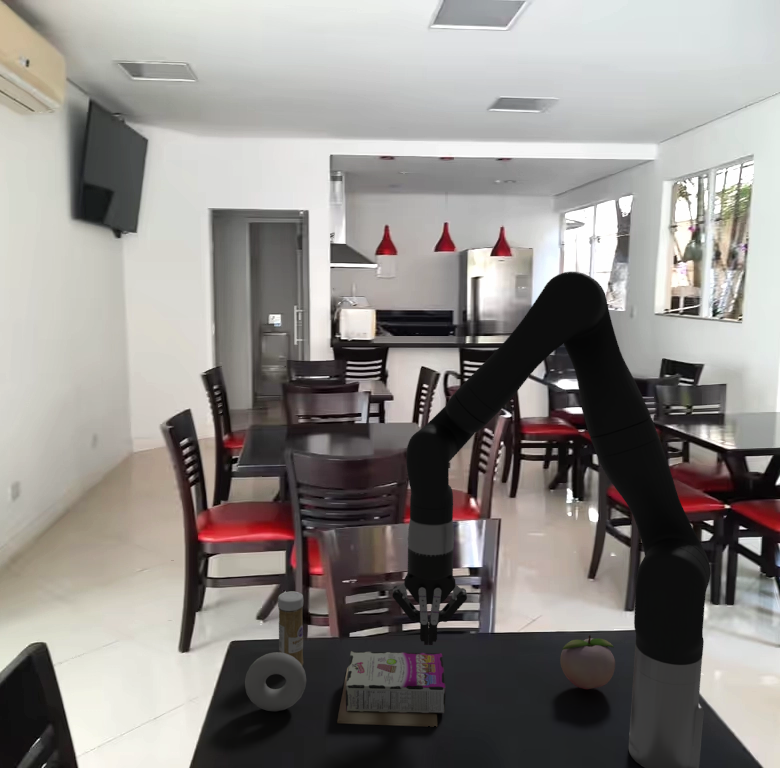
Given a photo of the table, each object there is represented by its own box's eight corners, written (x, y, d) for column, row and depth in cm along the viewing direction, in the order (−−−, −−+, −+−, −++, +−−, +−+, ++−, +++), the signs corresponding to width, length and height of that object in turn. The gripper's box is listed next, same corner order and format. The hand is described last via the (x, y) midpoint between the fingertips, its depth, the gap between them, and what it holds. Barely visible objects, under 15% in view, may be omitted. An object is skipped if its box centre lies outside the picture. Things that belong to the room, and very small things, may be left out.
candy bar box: (442, 678, 128) (350, 675, 129) (443, 652, 127) (350, 649, 128) (445, 716, 117) (344, 712, 118) (446, 688, 116) (344, 684, 117)
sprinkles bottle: (301, 671, 130) (300, 601, 128) (276, 670, 131) (275, 600, 129) (305, 658, 135) (305, 590, 133) (281, 657, 135) (280, 589, 133)
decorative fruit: (577, 708, 120) (580, 652, 119) (551, 682, 128) (554, 629, 127) (625, 698, 123) (628, 643, 122) (596, 673, 131) (599, 621, 130)
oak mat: (435, 672, 131) (435, 670, 131) (437, 726, 115) (437, 724, 115) (347, 669, 131) (347, 667, 131) (337, 723, 116) (337, 720, 115)
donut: (244, 718, 117) (243, 660, 115) (245, 705, 120) (244, 649, 118) (306, 714, 118) (306, 657, 116) (306, 701, 121) (306, 646, 120)
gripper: (389, 551, 115) (388, 652, 118) (472, 554, 115) (469, 655, 117) (391, 535, 123) (390, 630, 125) (469, 537, 122) (466, 633, 125)
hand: (428, 642), depth 121 cm, fingers closed
